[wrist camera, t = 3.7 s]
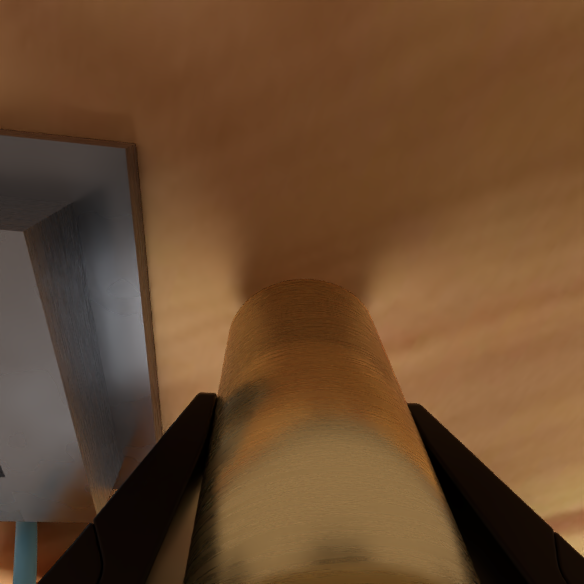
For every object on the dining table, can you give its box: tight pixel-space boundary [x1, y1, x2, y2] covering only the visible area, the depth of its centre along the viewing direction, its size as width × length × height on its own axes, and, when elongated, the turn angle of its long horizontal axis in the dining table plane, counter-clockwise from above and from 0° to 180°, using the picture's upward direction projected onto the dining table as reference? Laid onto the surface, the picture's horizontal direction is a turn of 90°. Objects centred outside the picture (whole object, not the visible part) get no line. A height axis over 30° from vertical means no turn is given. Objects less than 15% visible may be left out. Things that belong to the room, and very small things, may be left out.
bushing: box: [183, 279, 481, 584], centre depth 8 cm, size 5×5×8 cm
